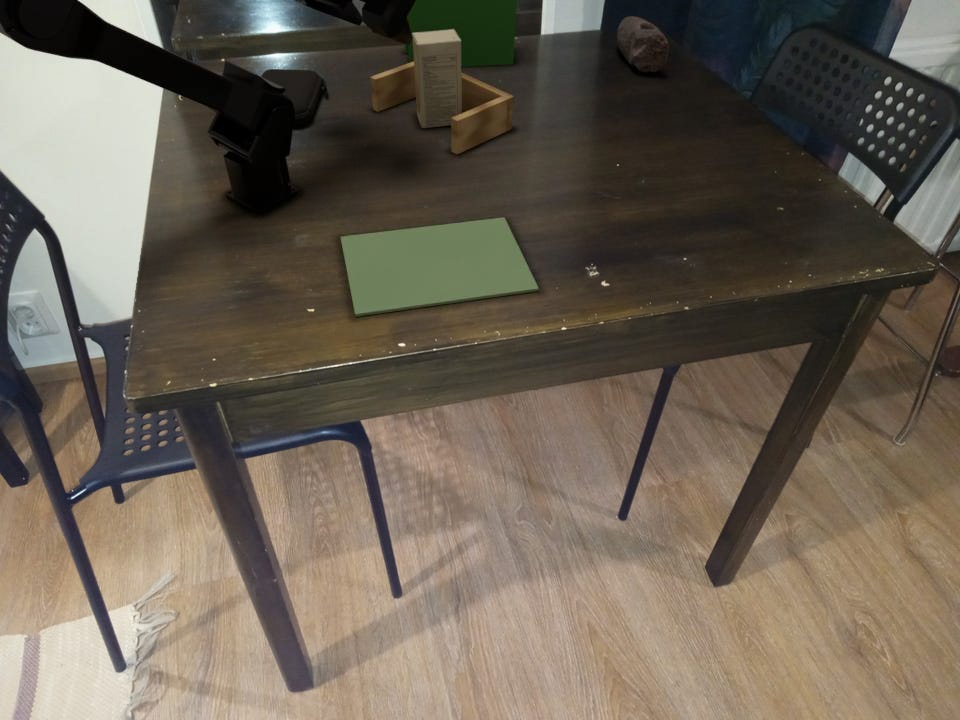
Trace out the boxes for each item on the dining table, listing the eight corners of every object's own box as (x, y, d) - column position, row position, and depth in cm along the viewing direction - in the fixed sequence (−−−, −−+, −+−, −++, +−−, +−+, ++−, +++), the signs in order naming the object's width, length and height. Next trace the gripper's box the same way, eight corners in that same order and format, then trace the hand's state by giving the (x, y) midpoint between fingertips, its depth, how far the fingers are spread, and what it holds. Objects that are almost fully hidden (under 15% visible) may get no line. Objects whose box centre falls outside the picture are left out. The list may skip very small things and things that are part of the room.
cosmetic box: (456, 112, 106) (456, 28, 97) (462, 125, 103) (463, 40, 94) (414, 115, 104) (411, 30, 96) (419, 129, 101) (416, 43, 93)
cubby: (457, 154, 96) (457, 120, 93) (372, 109, 105) (370, 76, 102) (511, 129, 102) (514, 96, 99) (427, 88, 111) (426, 56, 107)
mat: (355, 317, 72) (355, 314, 72) (340, 239, 82) (340, 236, 82) (538, 291, 76) (538, 288, 76) (504, 219, 86) (504, 217, 85)
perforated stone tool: (605, 45, 126) (612, 4, 121) (633, 44, 126) (640, 3, 122) (636, 80, 115) (644, 37, 110) (665, 78, 116) (675, 35, 111)
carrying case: (317, 130, 100) (332, 85, 111) (314, 109, 98) (330, 66, 108) (242, 128, 100) (265, 84, 110) (238, 107, 98) (261, 64, 108)
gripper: (406, -104, 72) (470, -7, 86) (290, -134, 80) (366, -41, 94) (353, -7, 72) (425, 74, 86) (243, -46, 81) (326, 33, 95)
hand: (385, 31), depth 90 cm, fingers open, 9 cm apart
